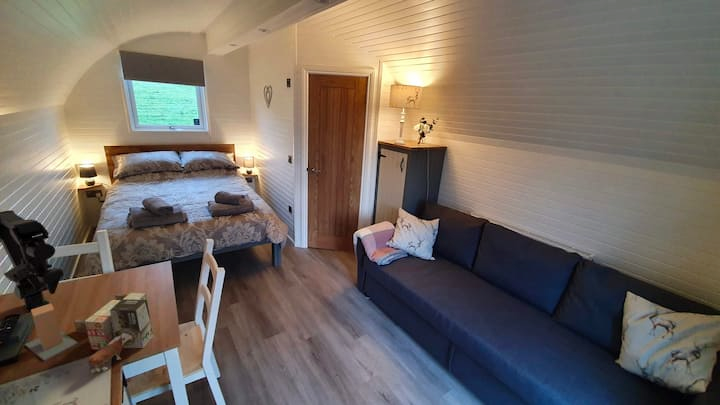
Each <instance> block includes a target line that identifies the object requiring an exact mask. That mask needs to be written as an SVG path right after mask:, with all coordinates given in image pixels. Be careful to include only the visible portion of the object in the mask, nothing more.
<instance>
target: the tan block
mask: <svg viewBox="0 0 720 405" xmlns="http://www.w3.org/2000/svg"><path fill="white" fill-rule="evenodd" d="M49 303H50V302H49ZM52 304H53V303H50V304H47V305H44V306H41V307H38V308H35V309H32V310H31V315H32V319H33V321H34V325H35V329H36V332H37V335H38V338H39V339H40V342H41V345H42V347H43V350H46V349H49V348H51V347H54V346H56V345H59V344H61V343H63V340H62V336H61V332H60V331H61V330H60V329H61V328H60V325H59V323H58V322H59V321H58V319H57V315H56V311H55V308H54V306H53V305H52Z"/></svg>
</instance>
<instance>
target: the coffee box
mask: <svg viewBox="0 0 720 405" xmlns="http://www.w3.org/2000/svg"><path fill="white" fill-rule="evenodd" d="M110 314H111V318H112V322H113V327H114V331H115V335H116V337H118V336H121V332H123V333H128V334H129V335H132V336H133V337H132V339H128V340H127V341H126V342H124V345H123V346H122V349H123V348H124V349H126V348H127V349H143V348H145V346H146V345H147V344H148V343H150V341H151V340H152V339H153V338H154V332H153V328H152V322H151V316H150V310H149V305H148V299H146V300H133V299H122V300H121V301H119V302H118V303H117V304H116V305H115V306H114V307H113V308H112V309H111V310H110Z"/></svg>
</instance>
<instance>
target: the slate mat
mask: <svg viewBox="0 0 720 405" xmlns="http://www.w3.org/2000/svg"><path fill="white" fill-rule="evenodd" d="M60 332H61V336H62V340H63V343H61V344H59V345H56V346H54V347H51V348H49V349H46V350H43V347H42V345H41V342H40V339H39V337H38V338H36V339H34V340H31V341H29V342H27V343H25V347H27V348H28V349H29V350H30V351H31V352H33V353H34V354H35V355H37V356H38V358H41V360H42V361H44V362H46V361H48V360H50V359H52V358H53V357H55V356H57V355H59V354H61V353H64V352H65V351H68V350H69V349H72V348H73V347H76V346H77V345H78V344H79V343H78V341H76V340H75V339H73V338H71V337H70V336H69V335H68V334H66V333H64V332H63V331H62V330H60Z"/></svg>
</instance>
